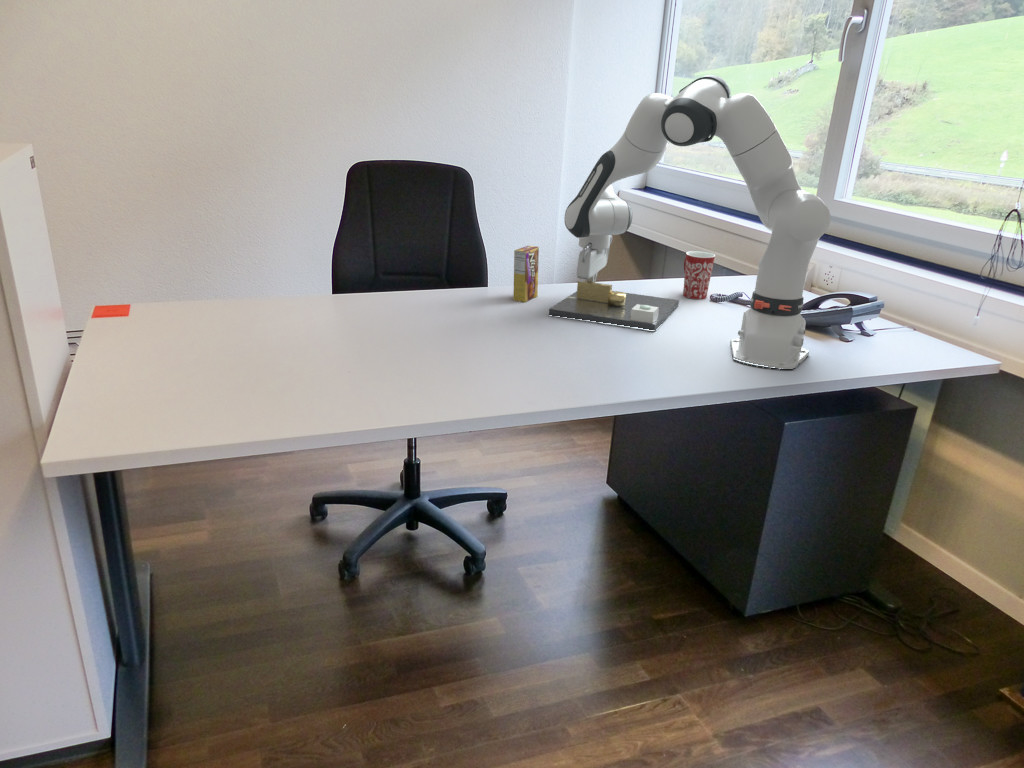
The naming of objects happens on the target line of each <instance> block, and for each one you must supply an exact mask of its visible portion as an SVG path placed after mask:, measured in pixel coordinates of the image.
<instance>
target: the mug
mask: <svg viewBox="0 0 1024 768" xmlns="http://www.w3.org/2000/svg"><path fill="white" fill-rule="evenodd" d="M715 258H716V254H714V253H711V252H705V251H698V250H696V251H695V250H693V251H687V252H685V258H684V262H683V272H684V280H683V290H682V291H683V293H682V294H683V297H685V298H687V299H694V300H705V299H706V298H708V297H707V296H708V292H709V285H710V282H711V278H712V277H711V276H712V272H713V268H714V261H715Z"/></svg>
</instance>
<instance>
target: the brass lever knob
mask: <svg viewBox="0 0 1024 768" xmlns="http://www.w3.org/2000/svg"><path fill="white" fill-rule="evenodd" d="M576 288H577V289H576V291H577V298H579V299H585V300H592V301H598V302H605V303H608V304H610V305H614V306H623V305H625V300H626V293H627V292H623V291H617V290H613V289H612V288H613V284H606V283H601V282H600V283H599V282H595V283H594V282H587V279H582V278H579V279H578V280H577V285H576Z"/></svg>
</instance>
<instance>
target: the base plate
mask: <svg viewBox="0 0 1024 768" xmlns="http://www.w3.org/2000/svg"><path fill="white" fill-rule="evenodd" d="M625 293H626V300H625V305H623V306H614V305H610V304H608V303H605V302H598V301H592V300H585V299H579V298H577V290H576V291H575V292H573V293H572V294H570V295H569V296H567V297H566V298H564V299H562V300H561V301H559V302H558V303H556V304H554V305H552V306H551V307H550V308H548V316H549V315H552V316H551V317H554V316H560V317H567V318H575V319H582V320H590V321H596V322H603V323H611V324H617V325H624V326H630V327H638V328H643V329H649V330H656V329H657V328H658V327H659V326H660V325H661V324H662V325H663V324H664V323H665V321H666V320H667V319H668V318H669V317H670V316H671V315H672V314H673V312H675V311H676V310H677V309H678V307H679V305H680V304H679V303H680V299H674V298H666V297H659V296H651V295H647V294H646V295H644V294H638V293H632V292H631V293H630V292H625ZM560 317H559V318H560ZM567 318H566V319H567ZM662 325H661V326H662ZM661 326H660V327H661ZM660 327H659V328H660ZM659 328H658V329H659ZM658 329H657V330H658ZM657 330H656V331H657Z"/></svg>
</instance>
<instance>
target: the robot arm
mask: <svg viewBox="0 0 1024 768" xmlns="http://www.w3.org/2000/svg"><path fill="white" fill-rule="evenodd" d="M714 136H715V137H717V138H719V139H720V140H721V141H722V142H723V144H724V146H725V147H726V150H727V151H728V153H729V155H730V156H731V158H732V160H733V162H734V164H735V165H736V168H737V169H738V171H739V173H740V175H741V176H742V179H743V180H744V182H745V185H746V187H747V188H748V191H749V194H750V197H751V199H752V203H753V204H754V207H755V210H756V212H757V215H758V218H759V219H760V221H761V223H762V224H763V226H764V227H765V228H766V229H767V230H769V231H771V235H770V239H769V240H768V244H767V246H766V249H765V251H764V254H763V255H762V256H761V258H760V260H759V261H758V268H757V275H756V281H755V287H754V290H753V292H752V295H751V297H750V305H749V306H750V308H749V309H747V310H745V311H744V312H743V315H742V320H741V326H740V329H739V330H738V333H737V334H738V336H739V338H731V339H730V341H729V344H730V343H731V346H730V349H731V348H732V352H731V355H732V354H733V358H735V359H738V360H741V361H745V362H749V363H753V364H758V365H764V366H768V367H775V368H781V369H782V368H783V369H793V368H795V367H796V366H797V365H798V364H799V363H800V364H801V363H803V361H805V359H807V358H806V357H807V356H808V355H810V351H809V350H808V349H806V348H804V347H803V345H804V341H805V339H804V336H805V334H806V324H807V322H806V321H807V320H805V318H804V317H803V316H802V314H801V312H802V311H803V306H804V299H805V298H804V296H803V293H804V289H805V284H806V283H805V282H806V279H807V278H806V277H807V272H808V270H809V269H808V268H809V264H810V262H811V260H812V259H811V258H812V256H813V254H814V252H815V250H816V247H817V244H818V242H819V241H820V238H821V237H823V235H824V234H826V232H827V231H828V229H829V227H830V223H831V213H830V209H829V207H828V206H827V204H826V203H825V202H824V201H823V200H822V198H820V197H819V196H818V195H815V194H814V193H810V192H807V191H805V190H804V189H803V188H802V187H801V186H800V184H799V182H798V179H797V176H796V172H795V169H794V166H793V165H794V164H793V157H792V155H791V153H790V151H789V149H788V148H787V145H786V143H785V142H784V140H783V137H782V136H781V134H780V132H779V130H778V128H777V126H776V125H775V122H774V121H773V120H772V117H771V116H770V115H769V113H768V111H767V110H766V109H765V107H764V106H763V105H762V104H761V102H760V101H759V100H758V99H757V97H755V95H753V94H751V93H748V92H746V93H745V92H744V93H743V92H742V93H737V94H736V95H732V94H731V88H730V86H729V84H728V83H727V82H726V80H724V79H723V78H722V77H720V76H718V75H716V74H715V75H713V74H707V75H704V76H701V77H699V78H697V79H695V80H693V81H691V82H690V83H689V84H687V85H686V86H685V87H683V88H681V89H680V90H679V91H678V94H677V95H676V96H669V95H667V94H664V93H660V92H652V93H649V94H647V95H646V96H644V97H643V98H642V100H641V101H640V103H639V104H638V105H637V106H636V108H635V110H634V111H633V113H632V115H631V117H630V119H629V121H628V123H627V126H626V128H625V130H624V132H623V133H622V135H621V136H620V138H619V140H617V142H616V143H615V144H614V145H613V146H612V147H611V148H610V149H609V150H607V151H606V152H604V153H603V154H601V156H600V157H599V158H598V160H597V162H596V163H595V165H594V166H593V168H592V169H591V171H590V173H589V175H588V176H587V177H586V179H585V181H584V183H583V184H582V186H581V187H580V190H579V192H578V193H577V195H575V197H574V199H573V200H572V201H571V202H570V203H569V204H568V205H567V207H566V210H565V212H564V225H565V228H566V229H567V231H568V232H569V233H570V234H571V235H572V236H573V237H576V238H578V247H580V248H582V250H581V251H579V254H578V260H577V268H576V277H577V278H578V279H581V280H586V281H587V282H594V283H596V280H597V276H598V273H599V271H601V270H603V268H605V267H606V266H607V264H608V260H609V253H610V247H611V246H610V245H611V244H612V242H613V236H617V235H618V236H619V235H621V234H625V233H626V232H627V231H628V230H629V228H630V227H631V225H632V223H633V210H632V207H631V205H630V204H629V203H628V201H626V200H624V199H622V198H620V197H619V196H618V195H617V194H616V193H615V190H614V186H613V185H612V184H614V183H615V182H617V181H621V180H624V179H626V178H630V177H634V176H638V175H641V174H645V173H647V172H650V171H651V170H653V169H654V168H655V167H656V166H657V164H658V163H660V161H661V160H662V157H663V156H664V154H665V153H666V150H667V148H668V145H669V143H670V144H672V145H674V146H677V147H689V146H692V145H696V144H699V143H709V142H710V141H712V140H713V138H714ZM808 357H809V356H808ZM733 358H732V359H733ZM800 364H799V365H800ZM799 365H798V366H799ZM798 366H797V367H798ZM797 367H796V368H797ZM796 368H795V369H796ZM793 370H794V369H793Z"/></svg>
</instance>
